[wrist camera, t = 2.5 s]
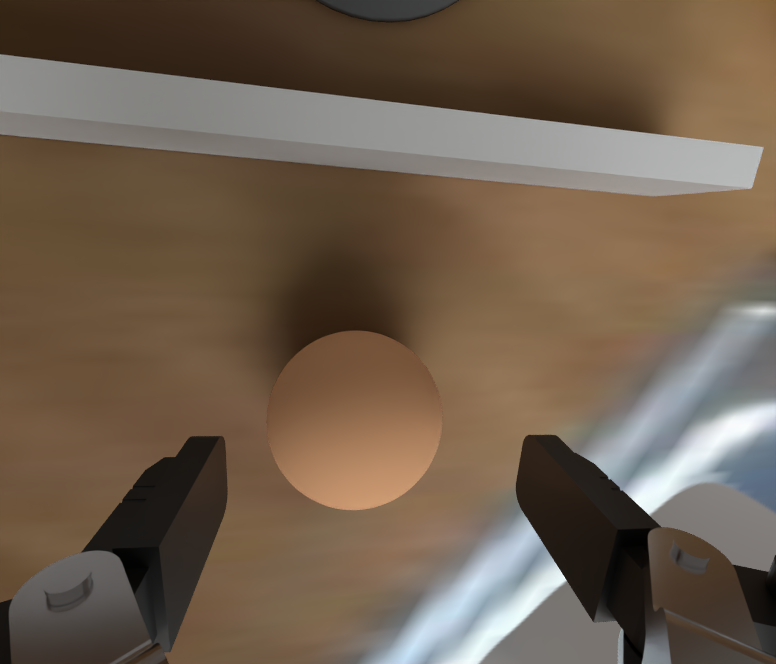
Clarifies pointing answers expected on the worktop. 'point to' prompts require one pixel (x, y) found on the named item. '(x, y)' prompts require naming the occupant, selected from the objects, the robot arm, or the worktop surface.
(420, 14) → the pad
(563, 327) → the worktop surface
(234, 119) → the low wall
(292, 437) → the ball
